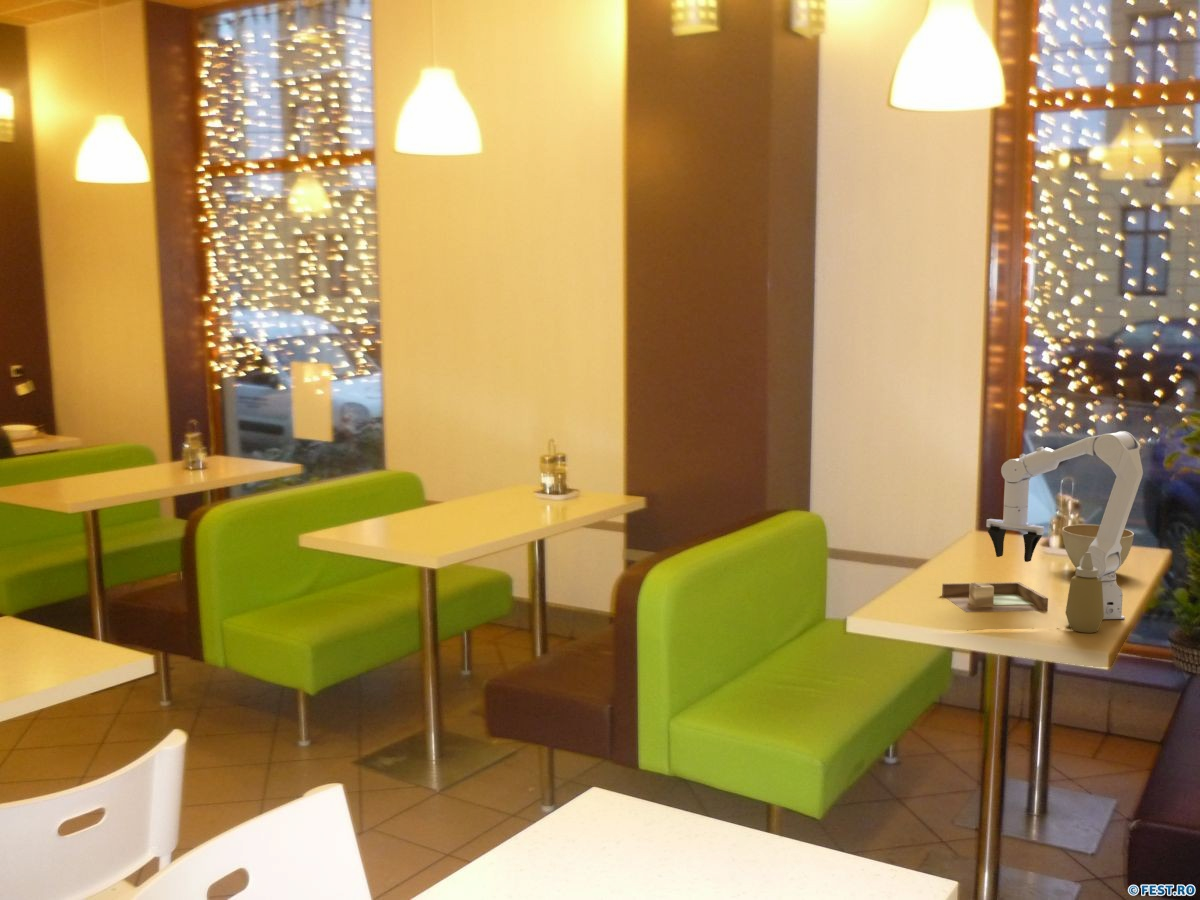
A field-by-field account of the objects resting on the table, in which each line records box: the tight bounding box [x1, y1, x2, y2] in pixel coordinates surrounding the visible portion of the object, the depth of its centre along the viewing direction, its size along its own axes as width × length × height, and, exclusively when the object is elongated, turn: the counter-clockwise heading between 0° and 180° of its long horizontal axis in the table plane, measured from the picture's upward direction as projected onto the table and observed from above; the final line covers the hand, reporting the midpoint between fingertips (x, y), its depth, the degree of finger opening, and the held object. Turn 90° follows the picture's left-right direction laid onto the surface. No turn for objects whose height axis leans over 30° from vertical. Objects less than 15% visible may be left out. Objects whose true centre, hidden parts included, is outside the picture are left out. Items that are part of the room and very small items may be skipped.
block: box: [969, 582, 994, 607], centre depth 277 cm, size 4×4×5 cm
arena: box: [941, 581, 1049, 613], centre depth 279 cm, size 16×20×4 cm
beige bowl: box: [1062, 524, 1135, 569], centre depth 312 cm, size 18×18×12 cm
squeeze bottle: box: [1065, 552, 1104, 633], centre depth 257 cm, size 8×8×18 cm
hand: (1013, 558), depth 286 cm, fingers open, 7 cm apart
